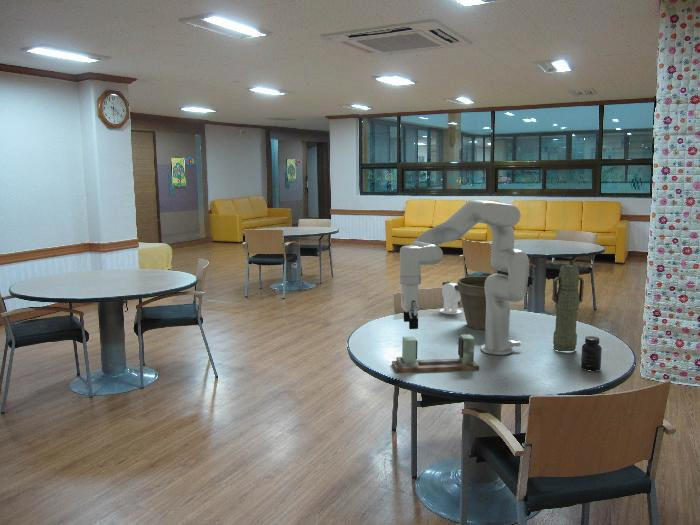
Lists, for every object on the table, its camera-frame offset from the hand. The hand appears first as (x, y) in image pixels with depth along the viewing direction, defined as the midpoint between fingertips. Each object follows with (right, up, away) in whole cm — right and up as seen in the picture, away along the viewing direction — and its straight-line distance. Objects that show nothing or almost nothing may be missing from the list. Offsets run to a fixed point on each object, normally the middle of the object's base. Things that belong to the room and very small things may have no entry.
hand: (410, 325), depth 218 cm
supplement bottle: (+67, -17, +2) cm, 69 cm away
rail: (+9, -16, +3) cm, 19 cm away
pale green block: (-1, -15, +2) cm, 15 cm away
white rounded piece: (+30, -3, +88) cm, 93 cm away
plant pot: (+40, -7, +61) cm, 73 cm away
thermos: (+65, -13, +25) cm, 71 cm away
